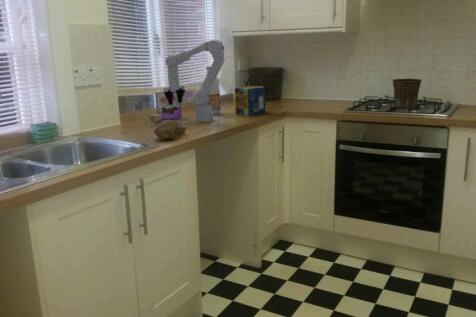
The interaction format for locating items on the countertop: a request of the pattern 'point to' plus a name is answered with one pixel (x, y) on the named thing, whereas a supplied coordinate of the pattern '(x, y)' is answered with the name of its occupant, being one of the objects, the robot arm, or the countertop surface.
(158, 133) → the brown rounded lump
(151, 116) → the oak block
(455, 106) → the countertop surface
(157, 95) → the candy box
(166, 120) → the terracotta pad
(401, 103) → the plant pot
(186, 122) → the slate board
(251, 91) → the protein box
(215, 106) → the fruit juice
